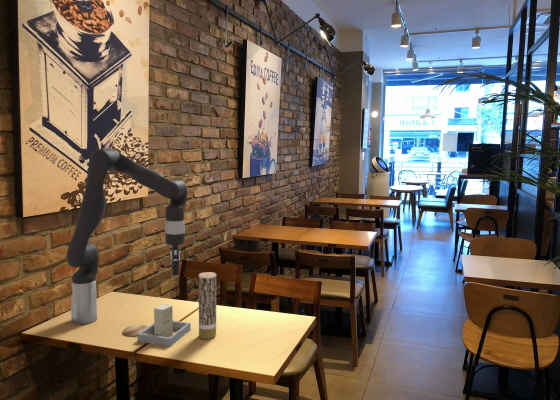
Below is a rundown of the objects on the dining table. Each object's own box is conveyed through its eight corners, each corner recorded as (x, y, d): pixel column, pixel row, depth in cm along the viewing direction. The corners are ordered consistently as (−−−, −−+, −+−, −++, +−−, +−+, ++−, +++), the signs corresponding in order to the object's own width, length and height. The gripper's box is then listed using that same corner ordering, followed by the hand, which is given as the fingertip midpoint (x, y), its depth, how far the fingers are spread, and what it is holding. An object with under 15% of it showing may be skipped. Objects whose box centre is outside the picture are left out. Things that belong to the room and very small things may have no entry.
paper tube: (201, 340, 171) (201, 277, 168) (196, 334, 177) (196, 273, 174) (218, 337, 174) (218, 275, 171) (212, 331, 180) (213, 271, 177)
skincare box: (162, 340, 170) (162, 310, 169) (153, 338, 172) (153, 308, 171) (173, 334, 176) (173, 305, 174) (164, 332, 178) (164, 303, 176)
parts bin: (137, 341, 169) (137, 333, 169) (160, 325, 184) (160, 318, 184) (170, 346, 165) (170, 338, 165) (190, 330, 181) (190, 323, 180)
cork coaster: (117, 334, 175) (117, 333, 175) (133, 325, 185) (133, 323, 185) (140, 337, 172) (139, 336, 172) (154, 328, 182) (154, 326, 182)
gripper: (165, 228, 178) (165, 267, 180) (165, 235, 164) (165, 277, 166) (184, 227, 180) (184, 266, 182) (185, 234, 166) (185, 276, 168)
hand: (175, 272), depth 174 cm, fingers open, 8 cm apart
